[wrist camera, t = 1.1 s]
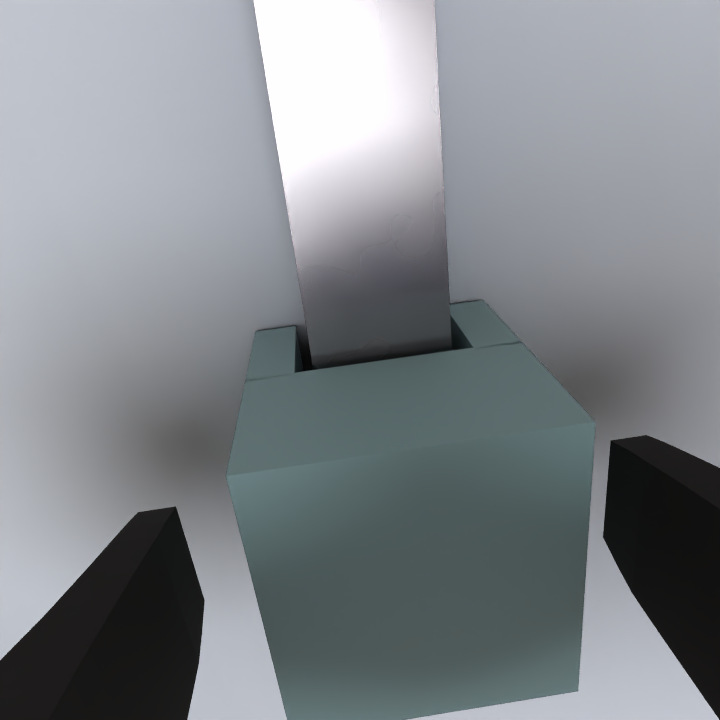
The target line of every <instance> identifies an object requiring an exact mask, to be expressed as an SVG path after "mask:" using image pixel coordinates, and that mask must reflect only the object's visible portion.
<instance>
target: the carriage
mask: <svg viewBox="0 0 720 720" xmlns="http://www.w3.org/2000/svg"><path fill="white" fill-rule="evenodd" d="M450 321H451V340H452V351H445V352H438V353H431V354H424V355H417V356H410V357H403V358H396V359H389V360H382V361H374V362H367V363H360V364H353V365H346V366H339V367H332V368H325V369H318V370H311V371H303V366H302V360H301V354H300V348H299V342H298V336H297V331H296V326H292V327H285V328H278V329H270V330H263V331H256V332H255V337H254V342H253V347H252V352H251V357H250V361H249V366H248V371H247V376H246V381H245V386H244V391H243V395H242V400H241V405H240V410H239V415H238V420H237V425H236V429H235V434H234V439H233V444H232V449H231V454H230V458H229V463H228V468H227V473H226V479H227V483H228V487H229V491H230V495H231V499H232V503H233V507H234V511H235V515H236V519H237V523H238V526H239V530H240V534H241V538H242V542H243V546H244V550H245V554H246V558H247V562H248V566H249V570H250V574H251V578H252V582H253V586H254V590H255V594H256V598H257V602H258V606H259V610H260V614H261V618H262V622H263V625H264V629H265V633H266V637H267V641H268V645H269V649H270V653H271V657H272V661H273V665H274V669H275V673H276V677H277V681H278V685H279V689H280V693H281V697H282V701H283V705H284V709H285V713H286V717H287V720H406V719H412V718H418V717H424V716H430V715H436V714H442V713H448V712H454V711H461V710H467V709H473V708H479V707H485V706H491V705H497V704H503V703H509V702H515V701H521V700H527V699H534V698H540V697H546V696H552V695H558V694H564V693H570V692H576V691H578V685H579V669H580V654H581V639H582V623H583V608H584V593H585V577H586V562H587V546H588V531H589V516H590V500H591V485H592V470H593V454H594V439H595V424H596V422H595V421H594V420H593V419H592V418H591V416H590V415H589V414H588V413H587V412H586V411H585V410H584V409H583V408H582V407H581V406H580V405H579V403H578V402H577V401H576V400H575V399H574V398H573V397H572V396H571V395H570V394H569V393H568V392H567V390H566V389H565V388H564V387H563V386H562V385H561V384H560V383H559V382H558V381H557V380H556V379H555V377H554V376H553V375H552V374H551V373H550V372H549V371H548V370H547V369H546V368H545V367H544V366H543V364H542V363H541V362H540V361H539V360H538V359H537V358H536V357H535V356H534V355H533V354H532V353H531V351H530V350H529V349H528V348H527V347H526V346H525V345H524V344H523V343H522V342H521V341H520V339H519V338H518V337H517V336H516V335H515V334H514V333H513V332H512V331H511V330H510V329H509V328H508V326H507V325H506V324H505V323H504V322H503V321H502V320H501V319H500V318H499V317H498V316H497V315H496V313H495V312H494V311H493V310H492V309H491V308H490V307H489V306H488V305H487V304H486V303H485V302H484V300H481V301H473V302H466V303H459V304H452V305H450Z"/></svg>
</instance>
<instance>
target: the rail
mask: <svg viewBox="0 0 720 720" xmlns="http://www.w3.org/2000/svg"><path fill="white" fill-rule="evenodd" d="M254 6H255V13H256V19H257V25H258V31H259V37H260V44H261V50H262V56H263V62H264V68H265V74H266V81H267V87H268V93H269V99H270V105H271V112H272V118H273V124H274V130H275V136H276V142H277V149H278V155H279V161H280V167H281V173H282V180H283V186H284V192H285V198H286V204H287V210H288V217H289V223H290V229H291V235H292V241H293V248H294V254H295V260H296V266H297V272H298V279H299V285H300V291H301V297H302V303H303V309H304V316H305V322H306V328H307V334H308V340H309V347H310V353H311V359H312V365H313V370H318V369H325V368H332V367H339V366H346V365H353V364H360V363H367V362H374V361H382V360H389V359H396V358H403V357H410V356H417V355H424V354H431V353H438V352H445V351H452V340H451V321H450V301H449V281H448V262H447V242H446V222H445V203H444V183H443V163H442V144H441V124H440V104H439V85H438V65H437V45H436V26H435V6H434V0H254Z"/></svg>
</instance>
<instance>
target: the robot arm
mask: <svg viewBox="0 0 720 720" xmlns="http://www.w3.org/2000/svg"><path fill="white" fill-rule="evenodd" d="M603 538H604V540H605V542H606V544H607V546H608V548H609V550H610V552H611V554H612V556H613V558H614V560H615V562H616V564H617V566H618V568H619V570H620V571H621V573H622V575H623V577H624V579H625V581H626V583H627V584H628V586H629V588H630V590H631V592H632V593H633V595H634V596H635V598H636V599H637V601H638V602H639V604H640V605H641V607H642V608H643V610H644V611H645V613H646V614H647V616H648V617H649V619H650V620H651V622H652V623H653V625H654V626H655V627H656V629H657V630H658V632H659V633H660V635H661V636H662V638H663V639H664V641H665V642H666V643H667V645H668V646H669V648H670V649H671V651H672V652H673V653H674V655H675V656H676V658H677V659H678V661H679V662H680V664H681V665H682V666H683V668H684V669H685V671H686V672H687V674H688V675H689V677H690V678H691V679H692V681H693V682H694V684H695V685H696V687H697V688H698V689H699V691H700V692H701V694H702V695H703V697H704V698H705V700H706V701H707V702H708V704H709V705H710V707H711V708H712V710H713V711H714V712H715V714H716V715H717V717H718V718H719V720H720V468H718V467H716V466H714V465H712V464H710V463H708V462H706V461H704V460H702V459H699V458H697V457H695V456H693V455H691V454H689V453H687V452H684V451H682V450H680V449H678V448H676V447H674V446H671V445H669V444H667V443H665V442H662V441H660V440H657V439H655V438H652V437H650V436H647V435H644V436H638V437H631V438H625V439H618V440H611V444H610V456H609V469H608V481H607V494H606V507H605V519H604V532H603ZM203 612H204V597H203V594H202V591H201V587H200V584H199V581H198V578H197V574H196V571H195V568H194V564H193V561H192V558H191V555H190V551H189V548H188V545H187V541H186V538H185V535H184V532H183V528H182V525H181V522H180V518H179V515H178V512H177V509H176V507H170V508H163V509H157V510H150V511H144V512H138V513H137V514H136V515H135V516H134V517H133V518H132V519H131V520H130V521H129V522H128V523H127V525H126V526H125V527H124V528H123V529H122V530H121V531H120V532H119V533H118V534H117V536H116V537H115V538H114V539H113V540H112V541H111V542H110V543H109V545H108V546H107V547H106V548H105V549H104V550H103V551H102V553H101V554H100V555H99V556H98V557H97V558H96V559H95V560H94V562H93V563H92V564H91V565H90V566H89V567H88V568H87V569H86V571H85V572H84V573H83V574H82V575H81V576H80V577H79V578H78V579H77V580H76V582H75V583H74V584H73V585H72V586H71V587H70V588H69V589H68V590H67V591H66V593H65V594H64V595H63V596H62V597H61V598H60V599H59V600H58V601H57V602H56V604H55V605H54V606H53V607H52V608H51V609H50V610H49V611H48V612H47V613H46V614H45V615H44V617H43V618H42V619H41V620H40V621H39V622H38V623H37V624H36V625H35V626H34V627H33V628H32V629H31V630H30V631H29V632H28V633H27V634H26V635H25V636H24V637H23V638H22V639H21V640H20V641H19V642H18V643H17V644H16V645H15V646H14V647H13V648H12V649H11V650H10V651H9V652H8V653H7V654H6V655H5V656H4V657H3V658H2V659H1V660H0V720H187V718H188V713H189V708H190V704H191V699H192V694H193V689H194V684H195V679H196V674H197V669H198V664H199V656H200V646H201V636H202V624H203Z"/></svg>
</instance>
